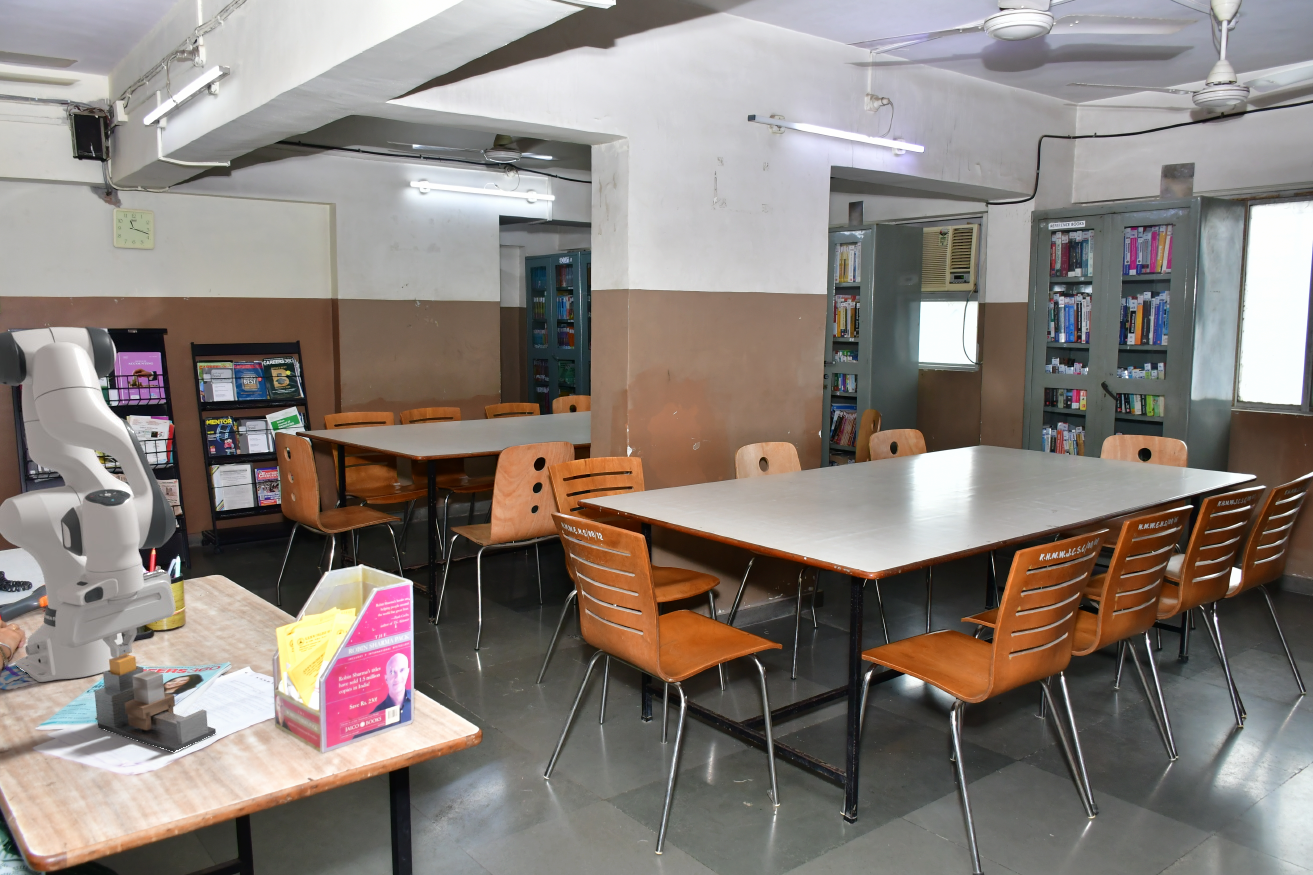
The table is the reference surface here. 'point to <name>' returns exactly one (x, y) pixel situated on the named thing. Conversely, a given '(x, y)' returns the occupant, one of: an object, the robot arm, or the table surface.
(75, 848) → the table surface
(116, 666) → the orange block
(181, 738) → the grey stepped block fixture
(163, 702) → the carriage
